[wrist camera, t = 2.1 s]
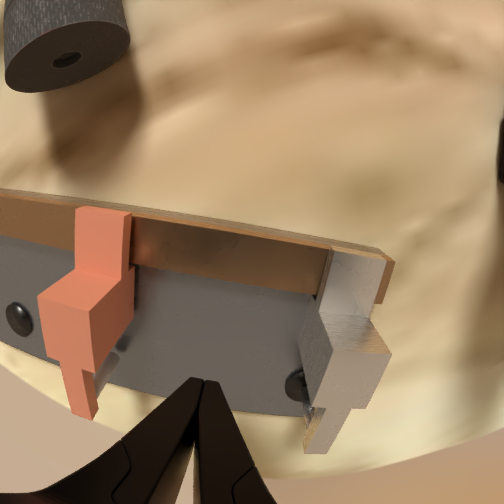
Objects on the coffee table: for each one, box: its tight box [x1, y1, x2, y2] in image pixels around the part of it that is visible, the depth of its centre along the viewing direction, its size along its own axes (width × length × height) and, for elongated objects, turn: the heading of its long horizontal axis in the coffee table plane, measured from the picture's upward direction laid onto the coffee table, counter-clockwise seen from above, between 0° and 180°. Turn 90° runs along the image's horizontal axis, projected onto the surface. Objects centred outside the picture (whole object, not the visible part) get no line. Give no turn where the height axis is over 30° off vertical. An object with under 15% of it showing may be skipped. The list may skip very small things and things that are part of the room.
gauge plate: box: [0, 188, 395, 454], centre depth 12 cm, size 24×10×6 cm, turn 80°
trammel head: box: [37, 206, 135, 421], centre depth 11 cm, size 2×8×4 cm, turn 170°
